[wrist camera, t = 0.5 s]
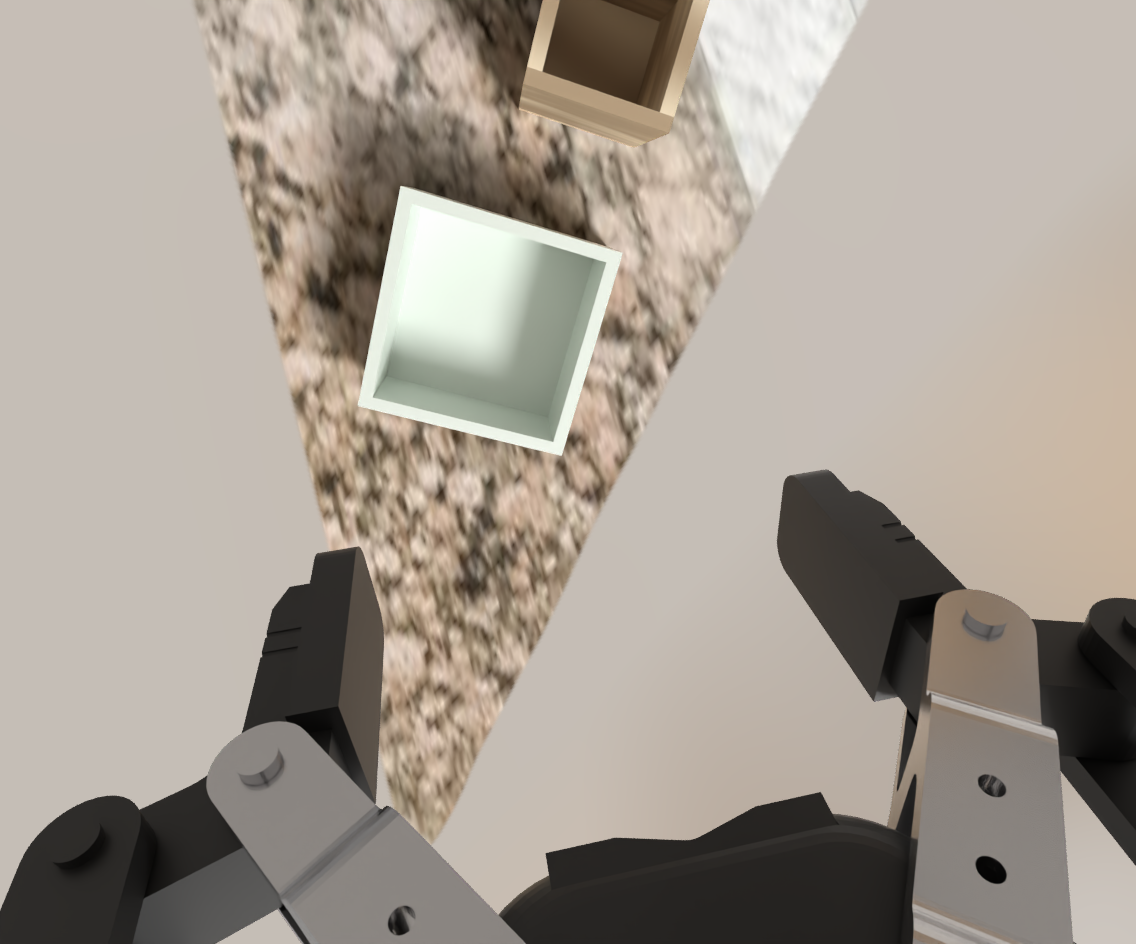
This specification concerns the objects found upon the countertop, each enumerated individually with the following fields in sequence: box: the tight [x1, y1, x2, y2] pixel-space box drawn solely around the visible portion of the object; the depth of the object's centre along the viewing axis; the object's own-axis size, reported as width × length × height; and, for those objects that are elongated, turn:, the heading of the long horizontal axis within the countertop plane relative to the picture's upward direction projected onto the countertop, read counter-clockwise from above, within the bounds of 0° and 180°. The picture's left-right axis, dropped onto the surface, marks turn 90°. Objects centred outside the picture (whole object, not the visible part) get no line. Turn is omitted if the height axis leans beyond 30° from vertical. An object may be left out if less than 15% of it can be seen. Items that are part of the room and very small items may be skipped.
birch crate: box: [519, 0, 710, 148], centre depth 30 cm, size 6×6×8 cm
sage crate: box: [358, 186, 623, 456], centre depth 35 cm, size 10×10×5 cm
